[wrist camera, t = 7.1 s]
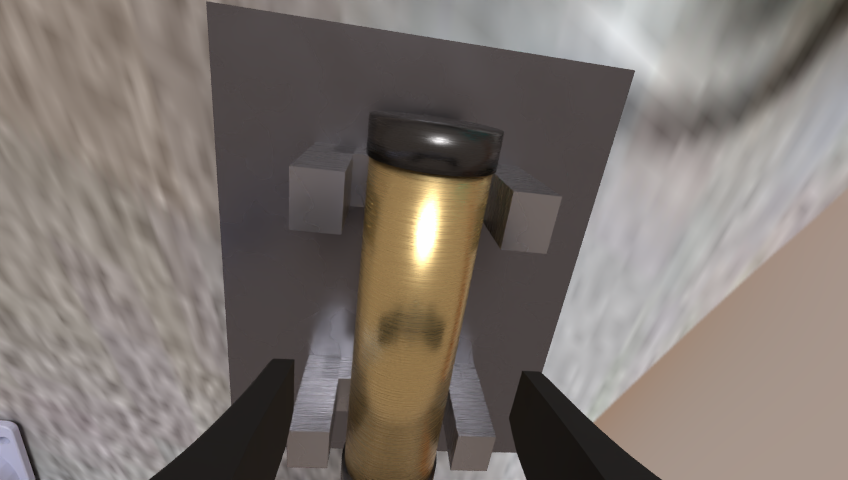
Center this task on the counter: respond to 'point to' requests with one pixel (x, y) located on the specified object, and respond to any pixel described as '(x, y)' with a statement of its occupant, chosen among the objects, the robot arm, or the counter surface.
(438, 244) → the brass tube
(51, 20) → the counter surface
